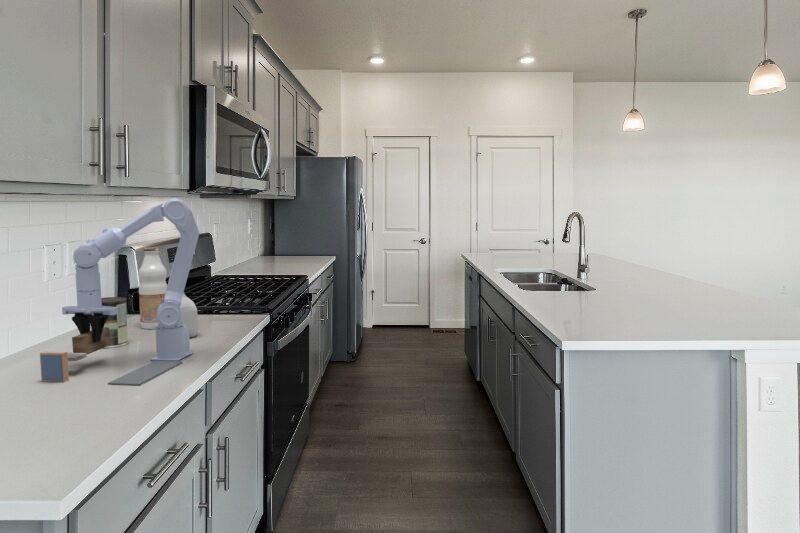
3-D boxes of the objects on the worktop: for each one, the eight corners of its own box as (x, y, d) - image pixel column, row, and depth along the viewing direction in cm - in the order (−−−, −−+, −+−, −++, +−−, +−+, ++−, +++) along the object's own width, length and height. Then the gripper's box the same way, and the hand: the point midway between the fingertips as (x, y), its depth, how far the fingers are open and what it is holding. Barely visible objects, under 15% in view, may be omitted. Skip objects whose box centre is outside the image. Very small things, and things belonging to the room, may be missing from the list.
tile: (46, 379, 148) (44, 351, 147) (68, 380, 147) (67, 351, 147) (40, 381, 146) (38, 353, 146) (63, 382, 145) (61, 353, 145)
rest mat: (154, 362, 164) (154, 360, 164) (182, 362, 163) (182, 361, 163) (107, 384, 143) (107, 382, 143) (139, 385, 142) (139, 383, 142)
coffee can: (101, 350, 178) (99, 303, 177) (85, 345, 185) (82, 300, 183) (135, 344, 186) (132, 298, 185) (118, 339, 193) (116, 295, 191)
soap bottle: (189, 332, 203) (186, 265, 201) (200, 337, 196) (197, 267, 194) (160, 336, 197) (156, 267, 195) (170, 341, 190) (167, 269, 188)
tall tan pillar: (97, 344, 167) (96, 327, 167) (114, 345, 167) (113, 327, 166) (57, 361, 151) (55, 341, 151) (75, 361, 150) (74, 341, 150)
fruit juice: (148, 330, 207) (144, 248, 204) (136, 327, 213) (132, 247, 210) (174, 326, 214) (170, 247, 211) (161, 323, 220) (158, 246, 217)
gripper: (52, 292, 156) (56, 344, 158) (105, 292, 155) (108, 345, 156) (71, 288, 163) (74, 338, 165) (121, 289, 162) (123, 339, 163)
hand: (91, 341), depth 161 cm, fingers closed on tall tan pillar, 2 cm apart
